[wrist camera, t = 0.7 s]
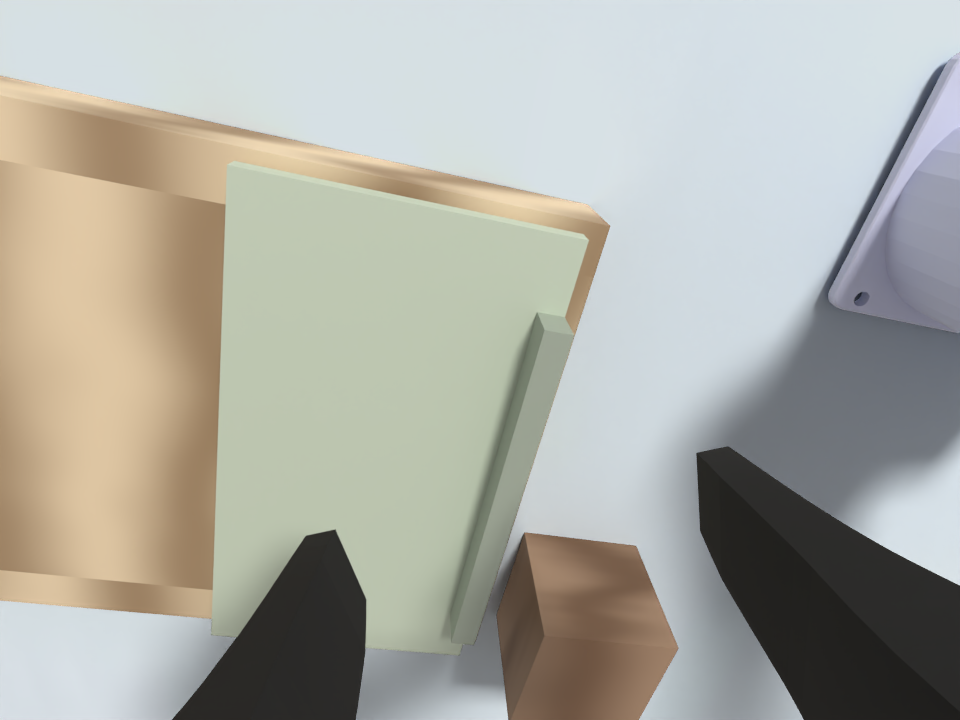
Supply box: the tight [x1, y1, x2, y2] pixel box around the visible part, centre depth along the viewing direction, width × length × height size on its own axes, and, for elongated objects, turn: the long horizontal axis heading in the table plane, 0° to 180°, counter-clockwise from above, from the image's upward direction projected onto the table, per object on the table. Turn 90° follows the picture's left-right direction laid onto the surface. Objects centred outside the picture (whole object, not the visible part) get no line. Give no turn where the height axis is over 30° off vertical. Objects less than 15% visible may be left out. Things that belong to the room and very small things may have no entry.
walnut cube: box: [497, 533, 678, 720], centre depth 24 cm, size 5×5×5 cm
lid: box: [211, 161, 589, 655], centre depth 18 cm, size 9×16×2 cm, turn 167°
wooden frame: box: [0, 76, 610, 641], centre depth 19 cm, size 24×17×3 cm
